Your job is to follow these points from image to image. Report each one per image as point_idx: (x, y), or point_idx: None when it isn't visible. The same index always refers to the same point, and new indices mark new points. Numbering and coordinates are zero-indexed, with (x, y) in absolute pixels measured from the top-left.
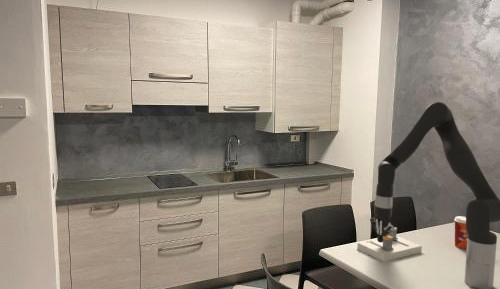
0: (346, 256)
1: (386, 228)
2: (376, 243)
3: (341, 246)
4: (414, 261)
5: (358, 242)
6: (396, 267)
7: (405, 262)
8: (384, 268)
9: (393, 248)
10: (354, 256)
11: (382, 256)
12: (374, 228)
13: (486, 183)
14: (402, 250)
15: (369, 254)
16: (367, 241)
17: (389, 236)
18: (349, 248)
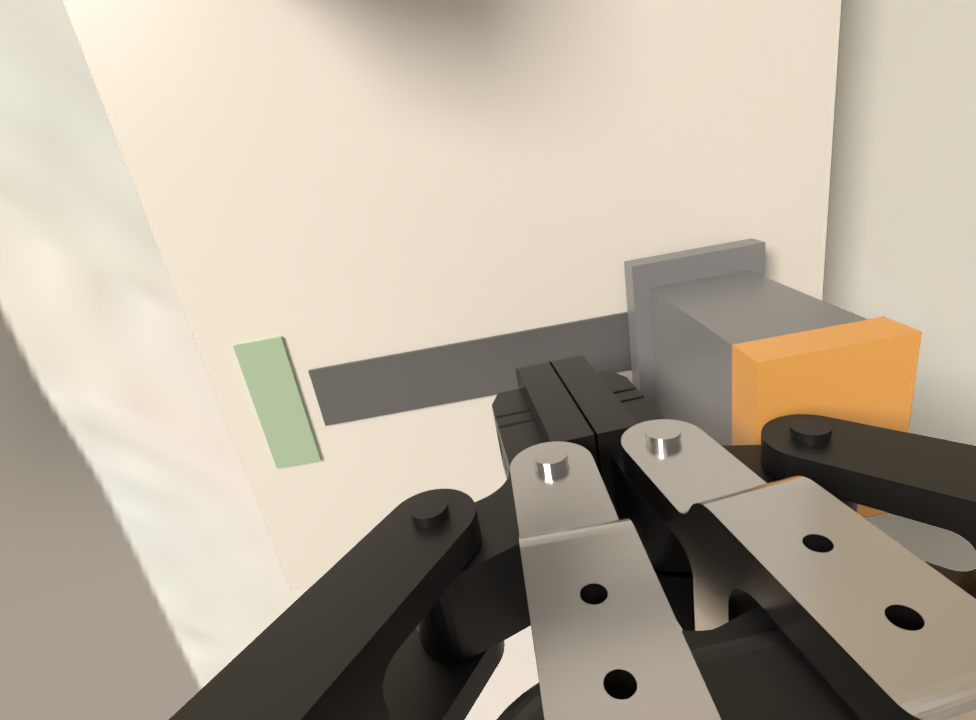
0: (492, 709)
1: (821, 511)
2: (392, 340)
3: (204, 654)
4: (968, 15)
5: (290, 579)
6: (939, 397)
7: (914, 187)
8: (882, 525)
9: (760, 244)
10: (517, 646)
11: None
12: (442, 681)
13: None
14: (835, 78)
15: None
16: (277, 440)
17: (831, 382)
18: (284, 602)
